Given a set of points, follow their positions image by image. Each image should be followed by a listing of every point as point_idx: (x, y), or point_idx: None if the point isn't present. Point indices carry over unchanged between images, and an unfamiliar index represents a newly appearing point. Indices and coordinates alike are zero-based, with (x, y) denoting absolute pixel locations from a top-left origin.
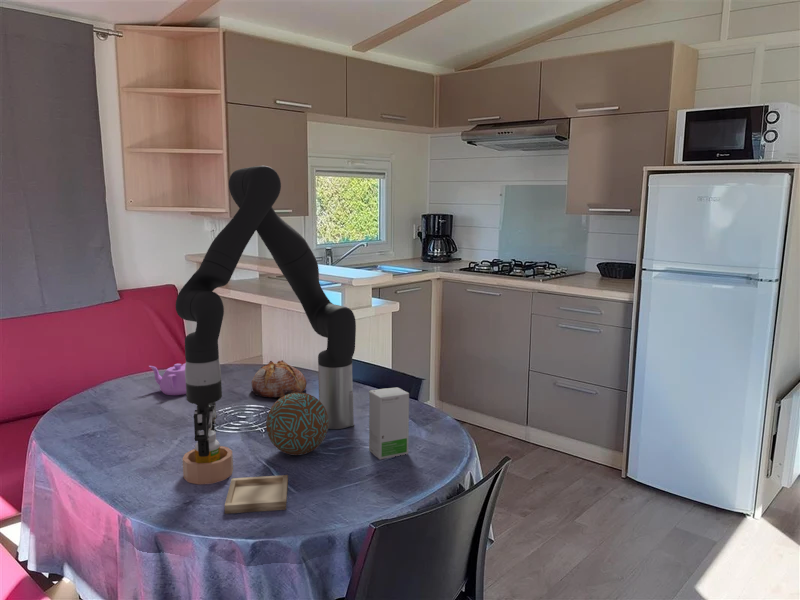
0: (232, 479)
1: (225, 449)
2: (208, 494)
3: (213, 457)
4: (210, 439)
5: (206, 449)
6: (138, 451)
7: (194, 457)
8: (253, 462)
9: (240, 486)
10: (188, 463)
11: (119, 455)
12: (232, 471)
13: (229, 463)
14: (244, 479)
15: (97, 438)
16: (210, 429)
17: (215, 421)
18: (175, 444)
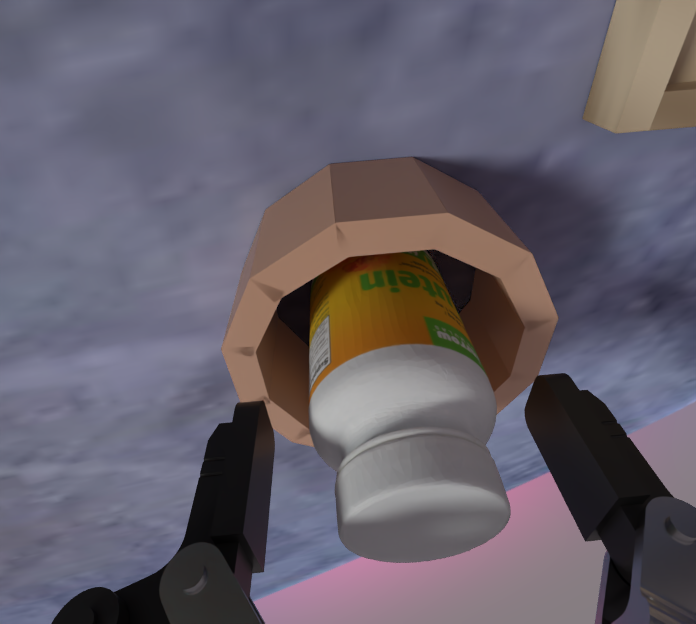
0: (638, 123)
1: (300, 282)
2: (623, 234)
3: (460, 327)
4: (494, 463)
5: (606, 425)
6: (171, 522)
7: None
8: (192, 11)
9: (691, 41)
10: None
11: None
12: (370, 161)
13: (452, 198)
14: (694, 10)
15: None
16: (666, 609)
17: (193, 577)
18: (69, 466)
